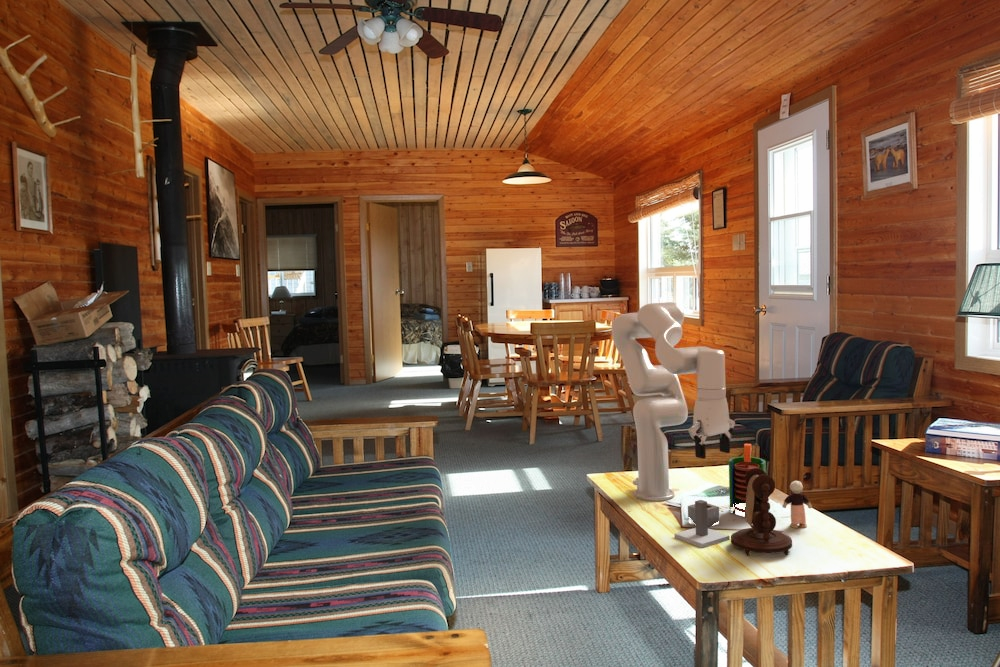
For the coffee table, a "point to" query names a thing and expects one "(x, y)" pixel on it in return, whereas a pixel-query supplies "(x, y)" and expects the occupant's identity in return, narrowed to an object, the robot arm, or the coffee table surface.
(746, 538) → the dark brown upright piece
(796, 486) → the grandmother figurine
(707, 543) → the shaft block
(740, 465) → the motor
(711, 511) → the grey square holed block
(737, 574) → the coffee table surface
